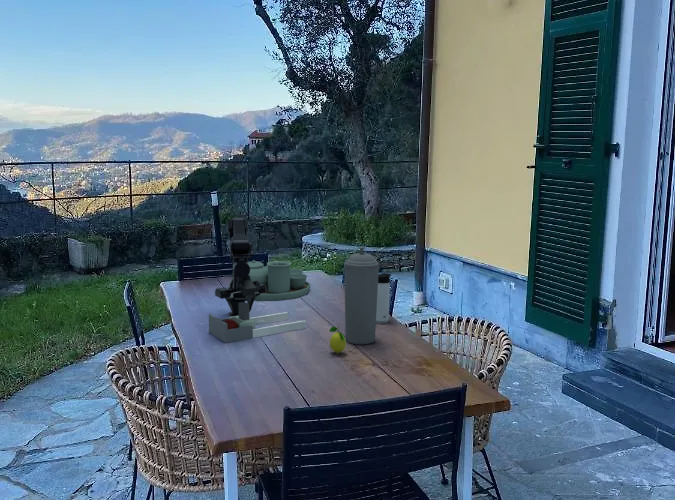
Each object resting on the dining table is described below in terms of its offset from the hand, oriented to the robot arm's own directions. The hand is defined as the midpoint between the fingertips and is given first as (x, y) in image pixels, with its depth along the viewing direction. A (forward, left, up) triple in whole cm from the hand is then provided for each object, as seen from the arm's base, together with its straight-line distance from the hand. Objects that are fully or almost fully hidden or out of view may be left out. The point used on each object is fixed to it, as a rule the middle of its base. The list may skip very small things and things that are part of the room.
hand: (241, 312), depth 226 cm
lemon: (+38, +18, -8) cm, 43 cm away
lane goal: (0, +7, -8) cm, 11 cm away
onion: (-1, -1, -5) cm, 5 cm away
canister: (+31, +33, -8) cm, 46 cm away
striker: (0, +3, -8) cm, 9 cm away
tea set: (-55, +41, -8) cm, 69 cm away
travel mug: (+16, +55, -8) cm, 58 cm away
